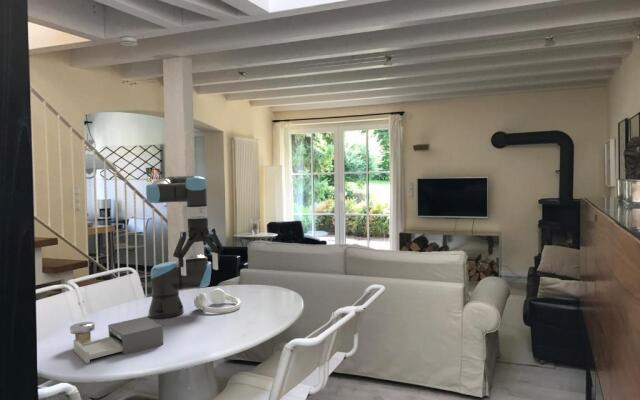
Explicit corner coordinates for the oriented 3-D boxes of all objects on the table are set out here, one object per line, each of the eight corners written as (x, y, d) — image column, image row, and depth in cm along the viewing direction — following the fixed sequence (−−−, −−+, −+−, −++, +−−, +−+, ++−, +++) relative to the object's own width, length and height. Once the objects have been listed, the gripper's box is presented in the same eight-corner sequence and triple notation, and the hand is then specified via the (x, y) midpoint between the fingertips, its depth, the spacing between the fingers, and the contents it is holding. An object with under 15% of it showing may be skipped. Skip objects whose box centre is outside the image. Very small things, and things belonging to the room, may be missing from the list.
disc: (68, 330, 168) (67, 325, 168) (91, 325, 173) (91, 320, 173) (73, 335, 162) (73, 330, 162) (97, 330, 167) (97, 324, 167)
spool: (74, 346, 168) (73, 330, 168) (89, 342, 171) (88, 327, 171) (77, 349, 164) (76, 333, 164) (92, 346, 167) (91, 330, 167)
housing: (146, 333, 179) (145, 316, 179) (163, 344, 167) (162, 325, 166) (108, 343, 170) (107, 324, 170) (123, 355, 157) (122, 335, 157)
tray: (114, 340, 171) (113, 330, 171) (129, 352, 159) (128, 341, 159) (73, 350, 162) (73, 340, 162) (86, 363, 150) (85, 352, 149)
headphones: (189, 310, 211) (220, 320, 200) (189, 293, 210) (220, 303, 200) (219, 300, 227) (249, 309, 217) (219, 285, 227) (250, 293, 216)
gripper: (171, 220, 162) (174, 279, 163) (230, 215, 180) (232, 268, 181) (162, 220, 168) (164, 276, 169) (220, 214, 185) (222, 265, 186)
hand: (200, 272), depth 175 cm, fingers open, 13 cm apart
